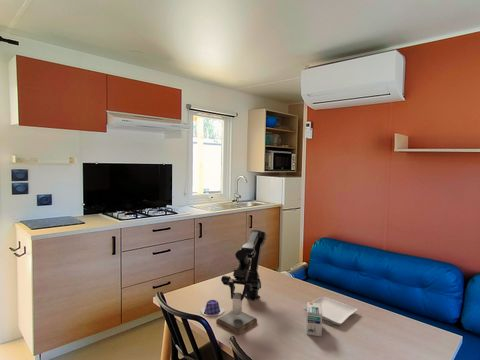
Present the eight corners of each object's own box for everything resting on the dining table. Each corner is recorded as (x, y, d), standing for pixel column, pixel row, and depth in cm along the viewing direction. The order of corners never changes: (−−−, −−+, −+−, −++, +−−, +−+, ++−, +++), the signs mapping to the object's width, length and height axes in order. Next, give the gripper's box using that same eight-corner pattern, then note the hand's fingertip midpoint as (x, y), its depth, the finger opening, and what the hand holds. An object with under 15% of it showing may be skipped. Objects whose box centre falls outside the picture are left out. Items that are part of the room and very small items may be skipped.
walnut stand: (235, 312, 159) (235, 308, 159) (256, 322, 150) (257, 317, 150) (216, 323, 148) (216, 318, 148) (237, 334, 139) (237, 329, 139)
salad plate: (358, 314, 161) (358, 308, 161) (340, 330, 146) (340, 323, 146) (321, 300, 176) (322, 295, 176) (301, 313, 160) (302, 307, 160)
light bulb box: (321, 337, 139) (322, 314, 138) (306, 335, 141) (307, 312, 140) (320, 324, 150) (321, 303, 149) (306, 322, 151) (307, 301, 150)
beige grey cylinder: (240, 310, 151) (241, 292, 151) (242, 314, 147) (242, 296, 146) (231, 310, 151) (232, 292, 150) (233, 315, 146) (233, 297, 146)
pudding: (217, 304, 169) (217, 294, 168) (228, 313, 158) (228, 304, 158) (197, 309, 162) (197, 299, 162) (206, 319, 152) (207, 309, 152)
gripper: (222, 259, 154) (213, 290, 144) (259, 264, 148) (252, 296, 138) (227, 269, 162) (219, 299, 152) (262, 274, 156) (256, 305, 146)
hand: (236, 299), depth 147 cm, fingers closed on beige grey cylinder, 4 cm apart
